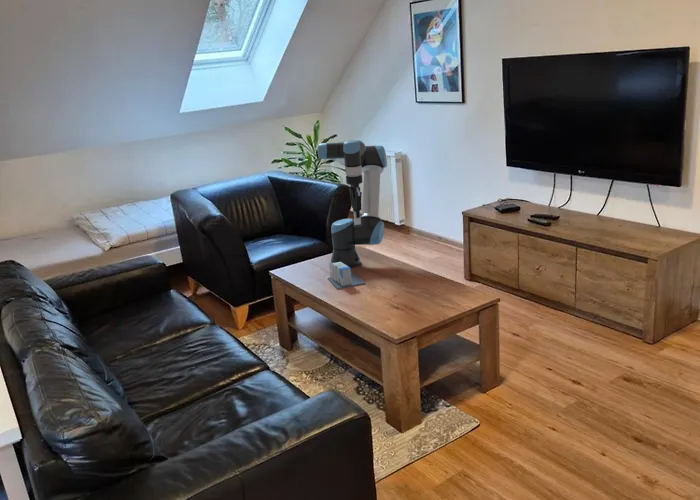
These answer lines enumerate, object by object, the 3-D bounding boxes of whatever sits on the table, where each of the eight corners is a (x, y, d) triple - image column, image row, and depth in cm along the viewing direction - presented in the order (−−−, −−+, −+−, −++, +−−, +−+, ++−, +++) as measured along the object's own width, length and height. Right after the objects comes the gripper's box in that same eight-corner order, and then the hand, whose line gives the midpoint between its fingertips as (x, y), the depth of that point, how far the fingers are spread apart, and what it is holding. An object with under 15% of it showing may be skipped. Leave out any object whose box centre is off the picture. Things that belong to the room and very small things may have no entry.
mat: (327, 278, 313) (327, 277, 313) (354, 273, 317) (354, 272, 317) (337, 289, 299) (337, 288, 298) (365, 284, 303) (365, 282, 302)
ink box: (351, 267, 299) (338, 259, 312) (341, 269, 297) (328, 261, 310) (352, 284, 302) (338, 275, 314) (342, 286, 300) (329, 277, 312)
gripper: (342, 173, 297) (346, 221, 305) (350, 178, 285) (354, 228, 293) (357, 171, 299) (361, 219, 307) (365, 176, 287) (369, 226, 295)
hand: (357, 223), depth 300 cm, fingers closed
